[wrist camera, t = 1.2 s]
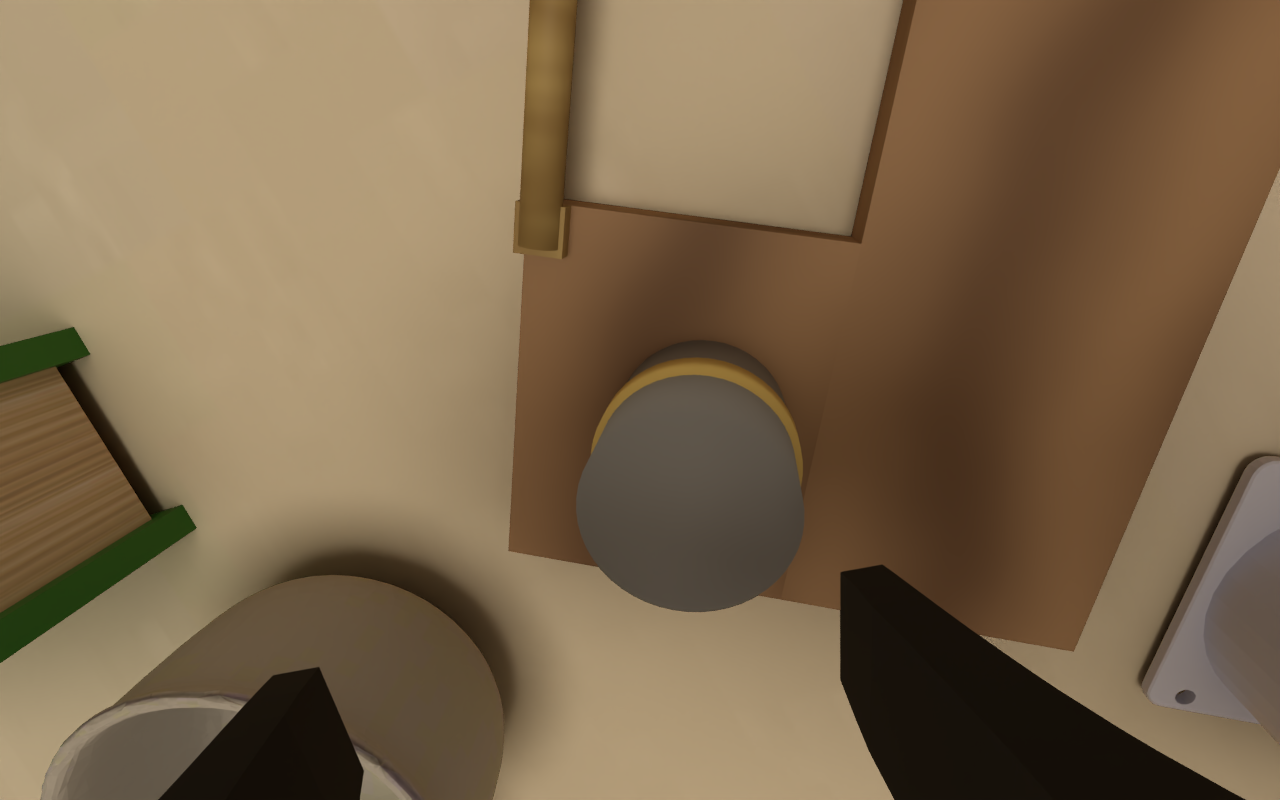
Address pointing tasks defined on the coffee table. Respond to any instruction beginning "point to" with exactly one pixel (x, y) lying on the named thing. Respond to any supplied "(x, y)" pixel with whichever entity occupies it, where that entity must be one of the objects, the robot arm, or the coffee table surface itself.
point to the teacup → (354, 672)
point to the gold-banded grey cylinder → (694, 481)
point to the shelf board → (934, 296)
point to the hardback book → (62, 498)
